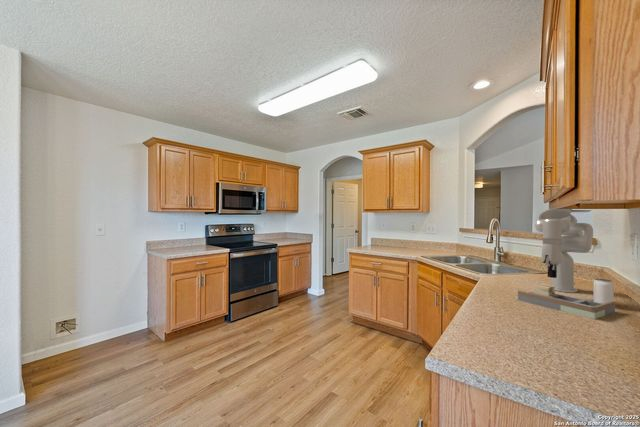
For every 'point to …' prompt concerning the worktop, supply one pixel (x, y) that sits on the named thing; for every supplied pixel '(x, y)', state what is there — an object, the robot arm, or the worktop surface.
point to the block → (544, 289)
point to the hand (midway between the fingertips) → (552, 277)
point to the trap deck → (569, 304)
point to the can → (603, 291)
